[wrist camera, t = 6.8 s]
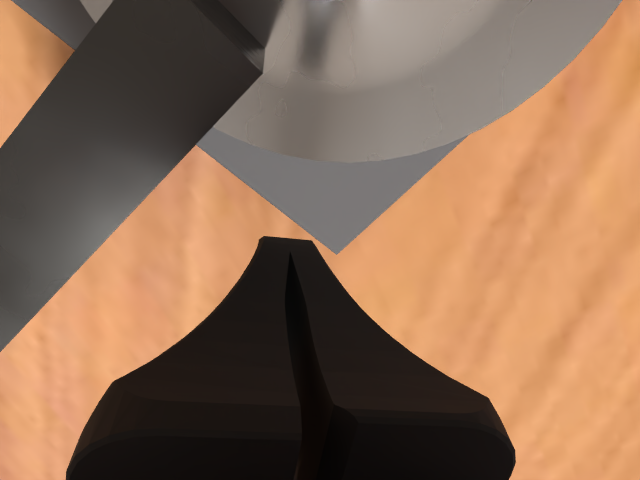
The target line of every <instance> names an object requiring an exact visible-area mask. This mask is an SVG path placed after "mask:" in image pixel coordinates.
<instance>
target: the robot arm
mask: <svg viewBox="0 0 640 480" xmlns="http://www.w3.org/2000/svg"><path fill="white" fill-rule="evenodd" d="M515 463H516V460H515V449H514V447H513V445H512V443H511V441H510V439H509V436H508V434H507V432H506V430H505V427H504V425H503V423H502V421H501V419H500V417H499V415H498V414H497V412H496V410H495V408H494V407H493V405H492V403H491V401H490V400H489V398H488V397H486V396H484V395H482V394H480V393H478V392H476V391H474V390H473V389H471V388H469V387H467V386H465V385H463V384H461V383H459V382H458V381H456V380H454V379H452V378H450V377H448V376H447V375H445V374H444V373H442V372H440V371H439V370H437V369H436V368H434V367H432V366H431V365H429V364H428V363H426V362H425V361H423V360H422V359H420V358H419V357H417V356H416V355H415V354H413V353H412V352H410V351H409V350H408V349H407V348H405V347H404V346H403V345H401V344H400V343H399V342H398V341H396V340H395V339H394V338H392V337H391V336H390V335H389V334H388V333H387V332H385V331H384V330H383V329H382V328H381V327H380V326H379V325H378V324H377V323H376V322H375V321H373V320H372V319H371V318H370V317H369V316H368V315H367V314H366V313H365V312H364V311H363V310H362V309H361V308H360V306H359V305H358V304H357V303H356V302H355V301H354V300H353V298H352V297H351V296H350V295H349V294H348V292H347V291H346V290H345V289H344V287H343V286H342V284H341V283H340V282H339V280H338V279H337V278H336V276H335V275H334V274H333V272H332V271H331V269H330V268H329V266H328V265H327V263H326V262H325V260H324V259H323V257H322V256H321V254H320V252H319V251H318V249H317V247H316V246H315V244H314V243H313V242H312V241H311V240H301V239H290V238H279V237H268V236H263V237H262V238H261V239H259V243H258V246H257V249H256V251H255V254H254V256H253V258H252V259H251V261H250V263H249V265H248V266H247V268H246V270H245V271H244V273H243V274H242V276H241V277H240V279H239V280H238V282H237V283H236V284H235V286H234V287H233V288H232V289H231V291H230V292H229V293H228V295H227V296H226V297H225V298H224V300H223V301H222V302H221V303H220V304H219V305H218V306H217V307H216V309H215V310H214V311H213V312H212V313H211V314H210V315H209V316H208V317H207V318H206V319H205V320H203V321H202V322H201V323H200V324H199V325H198V326H197V327H196V328H195V329H194V330H192V331H191V332H190V333H189V334H188V335H186V336H185V337H184V338H183V339H181V340H180V341H179V342H177V343H176V344H175V345H173V346H172V347H170V348H169V349H168V350H166V351H165V352H163V353H162V354H161V355H159V356H158V357H156V358H155V359H153V360H152V361H150V362H148V363H147V364H145V365H143V366H141V367H139V368H138V369H136V370H134V371H132V372H130V373H128V374H127V375H125V376H123V377H121V378H119V379H117V380H115V381H113V382H112V384H111V385H110V386H109V388H108V389H107V391H106V392H105V394H104V395H103V397H102V398H101V400H100V401H99V403H98V405H97V406H96V408H95V410H94V411H93V413H92V415H91V417H90V418H89V420H88V422H87V424H86V426H85V427H84V429H83V431H82V434H81V436H80V438H79V440H78V443H77V446H76V448H75V451H74V453H73V456H72V458H71V461H70V463H69V466H68V468H67V471H66V480H509V478H510V476H511V474H512V471H513V469H514V466H515Z"/></svg>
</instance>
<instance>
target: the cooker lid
mask: <svg viewBox="0 0 640 480" xmlns="http://www.w3.org/2000/svg"><path fill="white" fill-rule="evenodd" d="M80 1H81V3H82V4H83V6H84V7H85V9H86V10H87V12H88V13H89V15H90V16H91V18H92V19H93V21H94V22H95V23H96V24H95V25H94V26H93V28H92V29H91V30H90V32H89V33H88V34H87V36H86V37H85V38H84V40H83V41H82V42H81V43H80V45H79V46H78V47H77V49H76V50H75V51H74V53H73V54H72V55H71V57H70V58H69V59H68V60H67V62H66V63H65V64H64V66H63V67H62V68H61V70H60V71H59V72H58V74H57V75H56V76H55V77H54V79H53V80H52V81H51V83H50V84H49V85H48V87H47V88H46V89H45V91H44V92H43V93H42V94H41V96H40V97H39V98H38V100H37V101H36V102H35V104H34V105H33V106H32V108H31V109H30V110H29V111H28V113H27V114H26V115H25V117H24V118H23V119H22V121H21V122H20V123H19V125H18V126H17V127H16V128H15V130H14V131H13V132H12V134H11V135H10V136H9V138H8V139H7V140H6V142H5V143H4V144H3V145H2V147H1V148H0V352H1V351H2V350H3V349H4V348H5V346H6V345H7V344H8V343H9V342H10V341H11V340H12V339H13V338H14V337H15V336H16V335H17V334H18V333H19V332H20V331H21V329H22V328H23V327H24V326H25V325H26V324H27V323H28V322H29V321H30V320H31V319H32V318H33V317H34V316H35V315H36V314H37V313H38V311H39V310H40V309H41V308H42V307H43V306H44V305H45V304H46V303H47V302H48V301H49V300H50V299H51V298H52V297H53V296H54V294H55V293H56V292H57V291H58V290H59V289H60V288H61V287H62V286H63V285H64V284H65V283H66V282H67V281H68V280H69V279H70V278H71V276H72V275H73V274H74V273H75V272H76V271H77V270H78V269H79V268H80V267H81V266H82V265H83V264H84V263H85V262H86V261H87V259H88V258H89V257H90V256H91V255H92V254H93V253H94V252H95V251H96V250H97V249H98V248H99V247H100V246H101V245H102V244H103V243H104V241H105V240H106V239H107V238H108V237H109V236H110V235H111V234H112V233H113V232H114V231H115V230H116V229H117V228H118V227H119V226H120V224H121V223H122V222H123V221H124V220H125V219H126V218H127V217H128V216H129V215H130V214H131V213H132V212H133V211H134V210H135V209H136V208H137V206H138V205H139V204H140V203H141V202H142V201H143V200H144V199H145V198H146V197H147V196H148V195H149V194H150V193H151V192H152V191H153V189H154V188H155V187H156V186H157V185H158V184H159V183H160V182H161V181H162V180H163V179H164V178H165V177H166V176H167V175H168V174H169V173H170V171H171V170H172V169H173V168H174V167H175V166H176V165H177V164H178V163H179V162H180V161H181V160H182V159H183V158H184V157H185V156H186V154H187V153H188V152H189V151H190V150H191V149H192V148H193V147H194V146H195V145H196V144H197V143H198V142H199V141H200V140H201V139H202V138H203V136H204V135H205V134H206V133H207V132H208V131H209V130H210V129H211V128H212V127H214V128H215V129H217V130H219V131H221V132H224V133H226V134H228V135H230V136H233V137H235V138H237V139H239V140H241V141H244V142H246V143H248V144H250V145H253V146H257V147H260V148H263V149H266V150H269V151H273V152H276V153H279V154H282V155H287V156H293V157H298V158H304V159H309V160H315V161H328V162H347V163H353V162H367V161H381V160H388V159H393V158H398V157H403V156H408V155H413V154H418V153H421V152H424V151H427V150H430V149H433V148H436V147H440V146H443V145H446V144H449V143H451V142H453V141H456V140H458V139H460V138H462V137H464V136H467V135H469V134H471V133H473V132H475V131H478V130H480V129H482V128H484V127H485V126H487V125H489V124H490V123H492V122H494V121H495V120H497V119H499V118H500V117H502V116H504V115H505V114H507V113H509V112H510V111H512V110H514V109H515V108H516V107H518V106H519V105H520V104H522V103H523V102H524V101H526V100H527V99H528V98H530V97H531V96H532V95H534V94H535V93H536V92H538V91H539V90H540V89H542V88H543V87H544V86H545V85H546V84H547V83H549V82H550V81H551V80H552V79H553V78H554V77H555V76H556V75H557V74H558V73H559V72H560V71H562V70H563V69H564V68H565V67H566V66H567V65H568V64H569V63H570V62H571V61H572V60H573V59H574V58H575V57H576V56H577V55H578V54H579V53H580V52H581V51H582V49H583V48H584V47H585V46H586V45H587V44H588V43H589V42H590V40H591V39H592V38H593V37H594V36H595V35H596V34H597V33H598V32H599V30H600V29H601V28H602V27H603V26H604V24H605V23H606V22H607V20H608V19H609V18H610V16H611V15H612V13H613V12H614V11H615V9H616V8H617V7H618V5H619V4H620V3H621V1H622V0H80Z"/></svg>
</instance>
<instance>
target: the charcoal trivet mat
mask: <svg viewBox="0 0 640 480" xmlns="http://www.w3.org/2000/svg"><path fill="white" fill-rule="evenodd" d="M12 1H13V2H14V3H15V4H17V5H18V6H19V7H20V8H22V9H23V10H24V11H26V12H27V13H28V14H29V15H31V16H32V17H33V18H35V19H36V20H37V21H38V22H40V23H41V24H42V25H43V26H45V27H46V28H47V29H49V30H50V31H51V32H52V33H54V34H55V35H56V36H58V37H59V38H60V39H61V40H63V41H64V42H65V43H67V44H68V45H69V46H70V47H72V48H73V49H74V50H76V49H77V47H78V46H79V45H80V43H81V42H82V41H83V40H84V38H85V37H86V36H87V34H88V33H89V32H90V30H91V29H92V28H93V26H94V25H95V24H96V23H95V22H94V21H93V19H92V18H91V16H90V15H89V13H88V12H87V10H86V9H85V7H84V6H83V4H82V3H81V1H80V0H12ZM467 136H468V135H467ZM467 136H464V137H462V138H460V139H458V140H456V141H453V142H451V143H449V144H446V145H443V146H440V147H436V148H433V149H430V150H427V151H424V152H421V153H418V154H413V155H408V156H403V157H398V158H393V159H388V160H381V161H367V162H353V163H347V162H328V161H315V160H309V159H304V158H298V157H293V156H287V155H282V154H279V153H276V152H273V151H269V150H266V149H263V148H260V147H257V146H253V145H250V144H248V143H246V142H244V141H241V140H239V139H237V138H235V137H233V136H230V135H228V134H226V133H224V132H221V131H219V130H217V129H215V128H214V127H212V128H211V129H210V130H209V131H208V132H207V133H206V134H205V135H204V136H203V138H202V139H201V140H200V141H199V142H198V143H197V144H196V145H197V146H198V147H199V148H201V149H202V150H203V151H205V152H206V153H207V154H208V155H210V156H211V157H212V158H214V159H215V160H216V161H217V162H219V163H220V164H221V165H223V166H224V167H225V168H226V169H228V170H229V171H230V172H231V173H233V174H234V175H235V176H237V177H238V178H239V179H240V180H242V181H243V182H244V183H246V184H247V185H248V186H249V187H251V188H252V189H253V190H254V191H256V192H257V193H258V194H260V195H261V196H262V197H263V198H265V199H266V200H267V201H269V202H270V203H271V204H272V205H274V206H275V207H276V208H277V209H279V210H280V211H281V212H283V213H284V214H285V215H286V216H288V217H289V218H290V219H292V220H293V221H294V222H295V223H297V224H298V225H299V226H301V227H302V228H303V229H304V230H306V231H307V232H308V233H309V234H311V235H312V236H313V237H315V238H316V239H317V240H318V241H320V242H321V243H322V244H324V245H325V246H326V247H327V248H329V249H330V250H331V251H332V252H334V253H335V254H336V255H337V254H338V253H339V252H340V251H341V250H343V249H344V248H345V247H346V246H347V245H348V244H349V243H350V242H351V241H352V240H354V239H355V238H356V237H357V236H358V235H359V234H360V233H361V232H362V231H363V230H365V229H366V228H367V227H368V226H369V225H370V224H371V223H372V222H373V221H374V220H376V219H377V218H378V217H379V216H380V215H381V214H382V213H383V212H384V211H385V210H387V209H388V208H389V207H390V206H391V205H392V204H393V203H394V202H395V201H396V200H398V199H399V198H400V197H401V196H402V195H403V194H404V193H405V192H406V191H407V190H409V189H410V188H411V187H412V186H413V185H414V184H415V183H416V182H417V181H419V180H420V179H421V178H422V177H423V176H424V175H425V174H426V173H427V172H428V171H430V170H431V169H432V168H433V167H434V166H435V165H436V164H437V163H438V162H439V161H441V160H442V159H443V158H444V157H445V156H446V155H447V154H448V153H449V152H450V151H452V150H453V149H454V148H455V147H456V146H457V145H458V144H459V143H460V142H461V141H463V140H464V139H465V138H466V137H467Z"/></svg>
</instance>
